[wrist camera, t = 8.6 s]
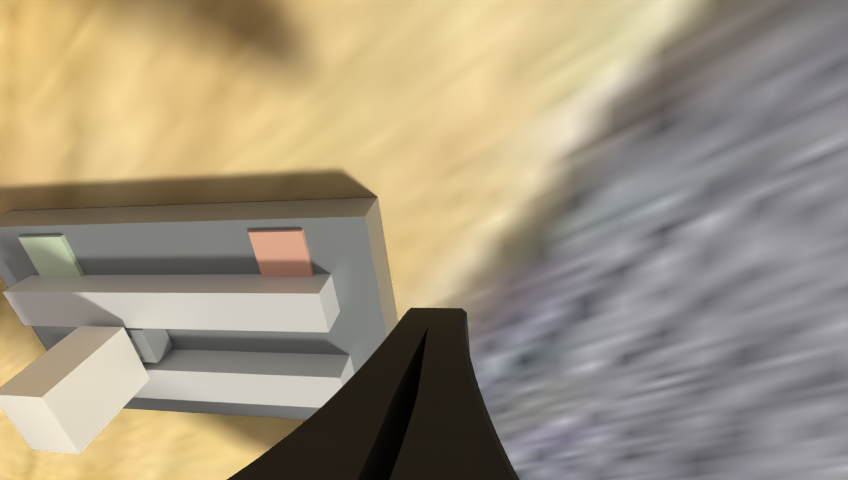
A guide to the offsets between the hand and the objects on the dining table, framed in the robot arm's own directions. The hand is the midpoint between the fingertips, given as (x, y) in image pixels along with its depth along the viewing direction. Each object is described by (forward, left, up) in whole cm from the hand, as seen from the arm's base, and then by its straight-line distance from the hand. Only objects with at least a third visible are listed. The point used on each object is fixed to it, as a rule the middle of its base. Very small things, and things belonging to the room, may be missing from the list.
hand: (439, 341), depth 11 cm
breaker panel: (-6, +14, -9) cm, 18 cm away
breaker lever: (-6, +17, -7) cm, 19 cm away
